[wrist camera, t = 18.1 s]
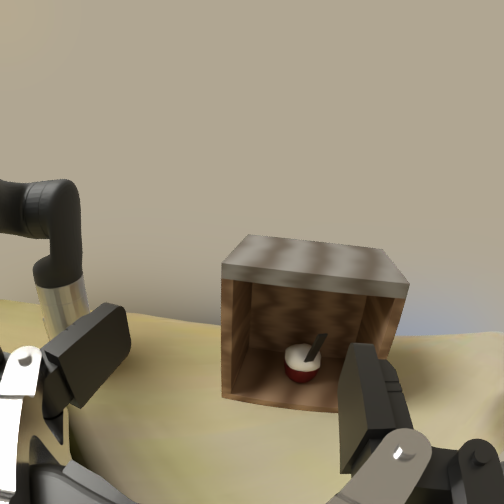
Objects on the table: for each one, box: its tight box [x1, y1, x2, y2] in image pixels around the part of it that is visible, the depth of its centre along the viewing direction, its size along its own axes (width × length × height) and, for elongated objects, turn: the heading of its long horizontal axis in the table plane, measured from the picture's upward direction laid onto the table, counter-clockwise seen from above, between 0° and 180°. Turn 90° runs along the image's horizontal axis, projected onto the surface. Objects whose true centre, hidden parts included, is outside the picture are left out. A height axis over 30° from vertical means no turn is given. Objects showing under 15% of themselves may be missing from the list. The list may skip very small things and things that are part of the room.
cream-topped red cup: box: [284, 333, 328, 383], centre depth 43 cm, size 10×6×12 cm, turn 169°
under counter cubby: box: [221, 235, 410, 413], centre depth 42 cm, size 23×15×23 cm, turn 79°
